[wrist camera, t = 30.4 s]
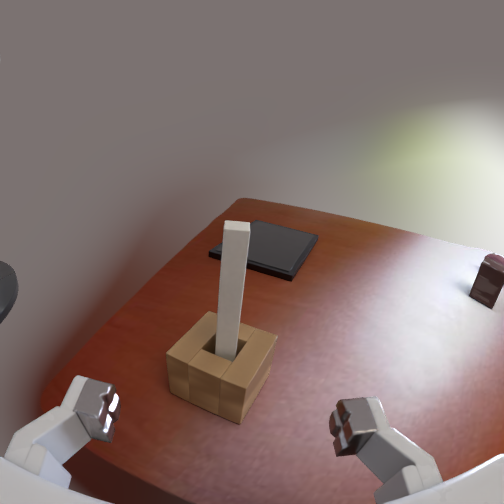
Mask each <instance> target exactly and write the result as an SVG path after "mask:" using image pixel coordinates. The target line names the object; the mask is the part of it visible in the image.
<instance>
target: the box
mask: <svg viewBox="0 0 504 504" xmlns="http://www.w3.org/2000/svg"><path fill="white" fill-rule="evenodd" d="M503 284H504V265H502V264H500V263H498V262H496V261H494V260H492V259H491V258H489V257H486V258H485V259H484V261H483V262H482V263H481V266H480V269H479V271H478V274H477V277H476V279H475V282H474V284H473V287H472V289H471V291H470V294H469V296H471V297H473V298H474V299H476V300H478V301H480V302H481V303H483V304H485V305H487V306H488V307H490V308H491V309H492V308H493V306H494V304H495V302H496V300H497V298H498V296H499V293H500V291H501V289H502V286H503Z"/></svg>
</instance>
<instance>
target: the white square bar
mask: <svg viewBox="0 0 504 504" xmlns="http://www.w3.org/2000/svg"><path fill="white" fill-rule="evenodd" d="M249 238H250V223H249V222H238V221H227V220H226V221H225V225H224V232H223V245H222V257H221V270H220V284H219V299H218V314H217V330H216V348H215V355H217V356H219V357H222V358H224V359H227V360H229V361H232V362H233V361H234V360H235V357H236V349H237V340H238V332H239V323H240V314H241V306H242V297H243V289H244V280H245V272H246V264H247V255H248V247H249Z"/></svg>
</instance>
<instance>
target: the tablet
mask: <svg viewBox="0 0 504 504" xmlns="http://www.w3.org/2000/svg"><path fill="white" fill-rule="evenodd" d="M317 240H318V235H314V234H311V233H307V232H303V231H299V230H295V229H291V228H287V227H283V226H279V225H275V224H271V223H267V222H263V221H259V220H255V221H254V222H252V223H251V224H250V238H249V247H248V255H247V264H246V268H248V269H252V270H255V271H258V272H262V273H265V274H268V275H272V276H275V277H278V278H282V279H285V280H289V281H292V280H293V278H294V277H295V275H296V274H297V272H298V270H299V269H300V267H301V266H302V264H303V262H304V261H305V259H306V258H307V256H308V255H309V253H310V251H311V250H312V248H313V247H314V245H315V243H316V242H317ZM222 245H223V242H222V243H220V244H219V245H217V246H216V247H214V248H213V249H211V250H210V251H209V257H212V258H215V259H219V260H221V257H222Z"/></svg>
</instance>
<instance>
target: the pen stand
mask: <svg viewBox="0 0 504 504" xmlns="http://www.w3.org/2000/svg"><path fill="white" fill-rule="evenodd" d="M216 330H217V314H216V313H213V312H210V311H208V312H207V313H206V314H205V315H204V316H203V317H202V318H201V319H200V320H199V321H198V322H197V323H196V324H195V325H194V326H193V327H192V328H191V329H190V330H189V331H188V332H187V333H186V334H185V335H184V336H183V337H182V338H181V339H180V340H179V341H178V342H177V343H176V344H175V345H174V346H173V347H172V348H171V349H170V350H169V351H168V352H167V353H166V359H167V369H168V378H169V386H170V392H171V393H173V394H174V395H176V396H178V397H180V398H182V399H184V400H186V401H188V402H190V403H192V404H194V405H197V406H199V407H201V408H203V409H205V410H207V411H209V412H211V413H214V414H216V415H219V416H221V417H223V418H225V419H227V420H230V421H232V422H235V423H237V424H241V422H242V421H243V419H244V417H245V416H246V414H247V412H248V411H249V409H250V407H251V405H252V404H253V402H254V400H255V398H256V397H257V395H258V393H259V391H260V390H261V388H262V386H263V384H264V382H265V381H266V379H267V377H268V375H269V372H270V368H271V364H272V360H273V355H274V351H275V346H276V342H277V337H278V336H277V335H274V334H271V333H268V332H265V331H262V330H260V329H256V328H254V327H251V326H248V325H245V324H242V323H239V332H238V340H237V349H236V357H235V360H234V361H233V362H232V361H229V360H227V359H224V358H222V357H219V356H217V355H215V348H216Z"/></svg>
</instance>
